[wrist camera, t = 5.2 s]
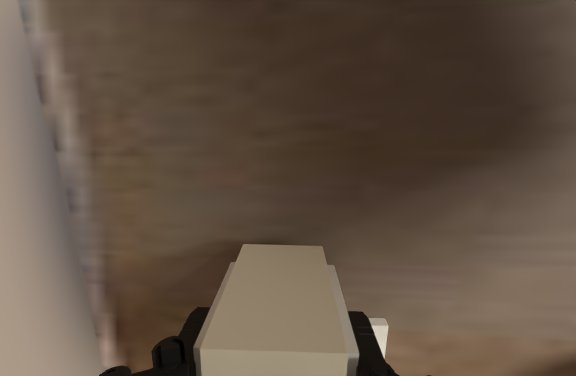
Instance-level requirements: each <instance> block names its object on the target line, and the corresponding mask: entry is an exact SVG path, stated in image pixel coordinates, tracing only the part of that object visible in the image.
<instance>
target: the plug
mask: <svg viewBox="0 0 576 376" xmlns="http://www.w3.org/2000/svg"><path fill="white" fill-rule="evenodd" d="M200 360H201V374H202V376H346V374H347V363H348V350H347V346H346V342H345V338H344V333H343V329H342V325H341V321H340V317H339V313H338V308H337V304H336V300H335V296H334V292H333V287H332V283H331V279H330V275H329V271H328V267H327V262H326V258H325V254H324V250H323V246H300V245H262V244H243V246H242V248H241V250H240V253H239V255H238V258H237V260H236V263H235V265H234V267H233V270H232V272H231V275H230V277H229V279H228V282H227V284H226V287H225V289H224V292H223V294H222V296H221V299H220V301H219V304H218V306H217V308H216V311H215V313H214V316H213V318H212V320H211V323H210V325H209V328H208V330H207V333H206V335H205V337H204V340H203V342H202V345H201V347H200Z"/></svg>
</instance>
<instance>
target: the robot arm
mask: <svg viewBox="0 0 576 376" xmlns="http://www.w3.org/2000/svg"><path fill="white" fill-rule="evenodd" d="M235 263H236V262H231V263H230V265H229V268H228V270H227V272H226V274H225V277H224V279H223V281H222V283H221V286H220V288H219V290H218V292H217V295H216V297H215V299H214V301H213V304H212V306H211V308H207V307H197V308H196V309H195V310H194V311H193V312H192V313H191V314H190V315H189V317H188V319H187V321H186V323H185V324H184V326H183V328H182V330H181V332H180V334H179V336H171V337H168V338H165V339H163V340H162V341H160V342H159V343H158V344H157V345H156V346H155V347H154V348H153V350H152V359H153V368H151V369H148V370H145V371H141V372H137V373H133V374H131V370H130V369H129V368H128V367H126V366H116V367H113V368H110V369H108V370H106V371H105V372H103V373H102V374H100V375H99V376H202V374H201V360H200V347H201V345H202V342H203V340H204V337H205V335H206V333H207V330H208V328H209V325H210V323H211V320H212V318H213V316H214V313H215V311H216V308H217V306H218V304H219V301H220V299H221V296H222V294H223V292H224V289H225V287H226V284H227V282H228V279H229V277H230V275H231V272H232V270H233V267H234V265H235ZM327 267H328V271H329V275H330V279H331V283H332V287H333V292H334V296H335V300H336V304H337V308H338V313H339V317H340V321H341V325H342V329H343V333H344V338H345V342H346V346H347V350H348V363H347V374H346V376H399V375H398V374H396V373H395V372H394V370H393V369H392V368H391V366H390V365H388V364H387V363H386V362H385V360H384V357H383V354H382V352H381V349H380V347H379V344H378V341H377V339H376V336H375V333H374V331H373V329H372V326H371V323H370V320H369V318H368V317H367V316H366V315H365V314H364V313H363V312H357V311H347V308H346V305H345V301H344V298H343V294H342V291H341V287H340V284H339V280H338V277H337V273H336V270H335V266H334V265H327ZM428 376H430V375H428Z"/></svg>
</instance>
